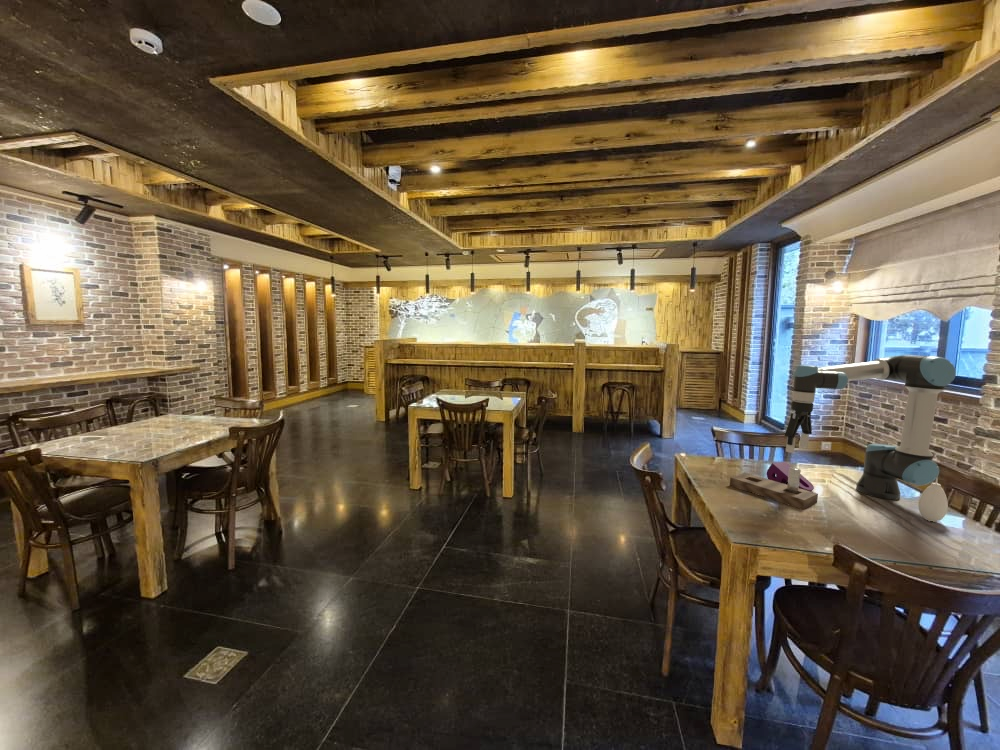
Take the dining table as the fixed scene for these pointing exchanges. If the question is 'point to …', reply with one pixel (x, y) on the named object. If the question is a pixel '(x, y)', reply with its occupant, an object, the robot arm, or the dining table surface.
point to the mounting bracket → (786, 475)
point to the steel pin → (793, 480)
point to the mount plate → (773, 490)
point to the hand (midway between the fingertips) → (796, 450)
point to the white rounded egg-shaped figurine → (933, 503)
